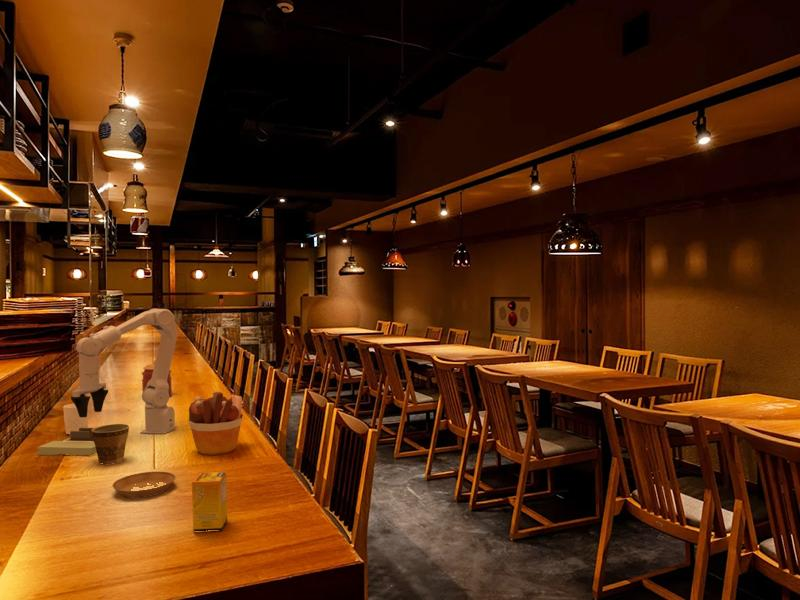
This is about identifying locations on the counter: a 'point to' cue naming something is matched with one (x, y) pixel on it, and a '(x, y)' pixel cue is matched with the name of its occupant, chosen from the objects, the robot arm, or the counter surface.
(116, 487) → the plant saucer
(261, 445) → the counter surface
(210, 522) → the supplement box
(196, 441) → the bucket of meat
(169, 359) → the robot arm
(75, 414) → the white cup
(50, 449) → the tan bracket
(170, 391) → the canister
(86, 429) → the chute
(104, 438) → the ceramic cup
